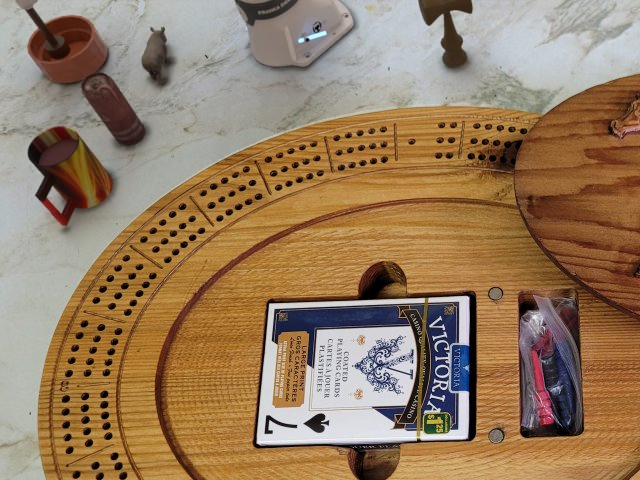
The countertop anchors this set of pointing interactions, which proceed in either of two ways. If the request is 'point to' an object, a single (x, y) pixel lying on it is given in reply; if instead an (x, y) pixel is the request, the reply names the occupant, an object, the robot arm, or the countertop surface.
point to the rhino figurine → (155, 54)
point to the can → (113, 108)
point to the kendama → (447, 27)
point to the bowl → (83, 44)
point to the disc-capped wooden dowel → (50, 38)
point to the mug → (68, 171)
